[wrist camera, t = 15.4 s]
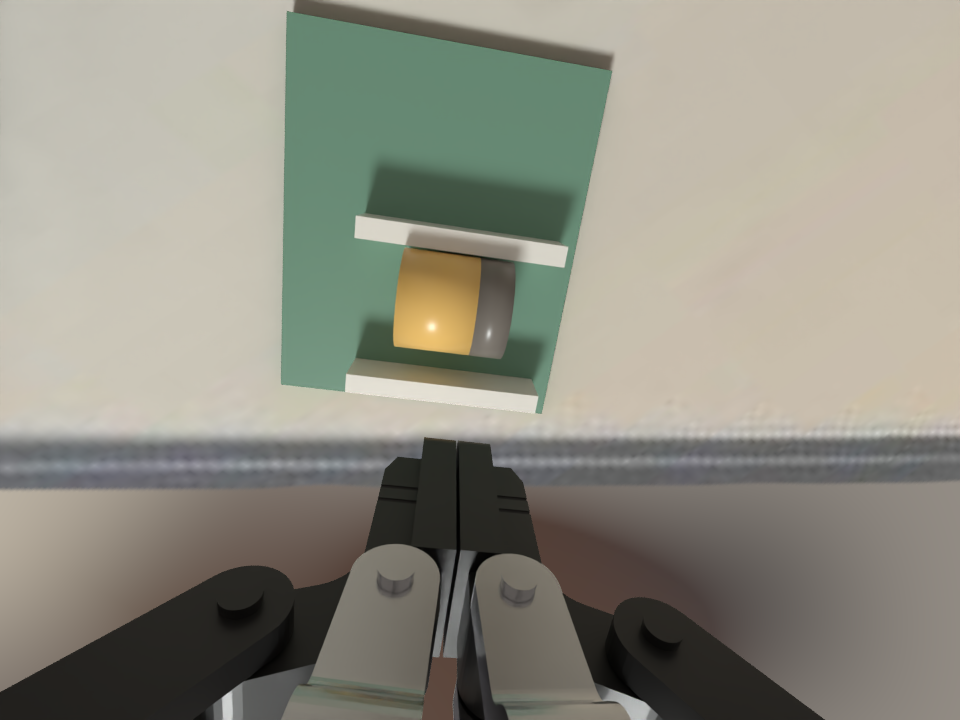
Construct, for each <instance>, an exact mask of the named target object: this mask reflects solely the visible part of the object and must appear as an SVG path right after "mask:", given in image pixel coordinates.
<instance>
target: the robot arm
mask: <svg viewBox="0 0 960 720" xmlns="http://www.w3.org/2000/svg"><path fill="white" fill-rule="evenodd" d="M443 630H444V637H443V640H444V641H443V657H450V658H451V657H452V658H457V681H456V687H455V693H454V698H453V715H454V720H824V719H823V718H822V717H820V716H819V715H818V714H816V713H815V712H814V711H812V710H811V709H810V708H808V707H807V706H806V705H804V704H803V703H801V702H800V701H799V700H798V699H796V698H795V697H794V696H792V695H791V694H789V693H788V692H787V691H786V690H784V689H783V688H782V687H780V686H779V685H778V684H776V683H775V682H773V681H772V680H771V679H770V678H768V677H767V676H766V675H764V674H763V673H762V672H760V671H759V670H758V669H756V668H755V667H754V666H752V665H751V664H750V663H748V662H747V661H745V660H744V659H743V658H741V657H740V656H739V655H737V654H736V653H735V652H733V651H732V650H731V649H729V648H728V647H727V646H725V645H724V644H723V643H721V642H720V641H719V640H717V639H716V638H715V637H713V636H712V635H711V634H709V633H708V632H707V631H705V630H704V629H702V628H701V627H700V626H699V625H697V624H696V623H695V622H693V621H692V620H691V619H689V618H688V617H687V616H685V615H684V614H683V613H681V612H680V611H678V610H677V609H675V608H673V607H671V606H670V605H668V604H665V603H663V602H661V601H658V600H654V599H650V598H642V597H641V598H640V597H637V598H630V599H627V600H625V601H623V602H622V603H620V605H618V607H617V608H616V610H615V612H614V615H612V614H609V613H606V612H603V611H600V610H598V609H594V608H592V607H589V606H586V605H584V604H581V603H579V602H576V601H574V600H573V599H571V598H569V597H567V596H566V595H565V594H563V593H562V591H561V588H560V585H559V583H558V581H557V579H556V578H555V576H554V575H553V574H552V573H551V572H550V570H549V569H547V568H546V567H545V566H544V565H543V564H542V563H541V559H540V555H539V551H538V546H537V542H536V537H535V533H534V529H533V524H532V520H531V515H530V514H529V507H528V502H527V501H526V494H525V489H524V485H523V482H522V481H521V480H520V478H519V477H518V476H517V475H516V474H515V473H514V471H513V470H512V469H511V468H503V467H494V466H493V462H492V454H491V447H490V444H483V443H474V442H464V441H458V443H457V448H456V441H454V440H444V439H435V438H426V437H424V444H423V453H422V459H414V458H404V457H397V458H396V459H395V460H394V461H393V462H392V463H391V464H390V465H389V466H388V467H387V468H386V469H385V472H384V476H383V480H382V484H381V488H380V492H379V497H378V501H377V505H376V509H375V513H374V517H373V521H372V525H371V529H370V533H369V537H368V541H367V545H366V549H365V553H364V554H363V555H361V556H360V557H359V558H358V559H357V561H356V562H355V563H354V565H353V567H352V569H351V571H350V572H349V573H347V574H346V575H344V576H342V577H340V578H338V579H336V580H334V581H331V582H329V583H325V584H321V585H316V586H310V587H305V588H299V589H294V588H293V585H292V583H291V581H290V580H289V579H288V578H287V576H286V575H284V574H283V573H281V572H280V571H278V570H276V569H273V568H269V567H265V566H244V567H238V568H234V569H230V570H227V571H224V572H222V573H220V574H218V575H215V576H213V577H212V578H210V579H208V580H206V581H204V582H202V583H201V584H199V585H197V586H195V587H194V588H191V589H189V590H188V591H186V592H184V593H182V594H180V595H179V596H177V597H175V598H173V599H171V600H169V601H167V602H166V603H164V604H162V605H160V606H158V607H156V608H155V609H153V610H151V611H149V612H147V613H146V614H143V615H142V616H140V617H138V618H136V619H134V620H133V621H131V622H129V623H127V624H125V625H123V626H121V627H120V628H118V629H116V630H114V631H112V632H110V633H108V634H107V635H105V636H103V637H101V638H100V639H97V640H95V641H94V642H92V643H90V644H88V645H86V646H84V647H83V648H81V649H79V650H77V651H75V652H73V653H71V654H70V655H68V656H66V657H64V658H62V659H60V660H59V661H57V662H55V663H53V664H51V665H49V666H48V667H46V668H44V669H42V670H40V671H38V672H36V673H35V674H33V675H31V676H29V677H27V678H25V679H24V680H22V681H20V682H18V683H16V684H14V685H12V686H11V687H9V688H7V689H5V690H3V691H1V692H0V720H421V719H422V711H423V702H424V695H425V693H426V690H427V687H428V682H429V676H430V669H431V663H432V657H439V654H440V648H441V642H442V636H443Z"/></svg>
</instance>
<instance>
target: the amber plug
mask: <svg viewBox="0 0 960 720" xmlns="http://www.w3.org/2000/svg"><path fill="white" fill-rule="evenodd" d="M515 280H516V274H515V265H514V263H513V262H507V261H500V260H493V259H486V258H479V257H471V256H464V255H457V254H450V253H443V252H436V251H428V250H421V249H414V248H407V247H405V249H404V251H403V255H402V260H401V265H400V271H399V277H398V285H397V293H396V302H395V313H394V328H393V342H394V346H395V347H403V348H412V349H420V350H428V351H436V352H445V353H453V354H461V355H470V356H478V357H486V358H495V359H501V358H502V356H503V354H504V352H505V349H506V345H507V341H508V337H509V332H510V327H511V321H512V314H513V306H514V297H515Z"/></svg>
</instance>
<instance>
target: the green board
mask: <svg viewBox="0 0 960 720" xmlns="http://www.w3.org/2000/svg"><path fill="white" fill-rule="evenodd" d="M611 74H612V71H610V70H604V69H599V68H594V67H588V66H583V65H577V64H572V63H566V62H561V61H555V60H550V59H545V58H539V57H534V56H528V55H523V54H517V53H512V52H506V51H501V50H496V49H490V48H485V47H479V46H474V45H468V44H463V43H457V42H452V41H447V40H441V39H436V38H430V37H425V36H419V35H414V34H408V33H403V32H398V31H392V30H387V29H381V28H376V27H370V26H365V25H359V24H354V23H349V22H343V21H338V20H332V19H327V18H321V17H316V16H310V15H305V14H300V13H294V12H289V11H287V28H286V94H285V159H284V224H283V290H282V355H281V384H282V385H291V386H300V387H309V388H317V389H326V390H335V391H344V392H345V383H346V373H347V372H348V370H349V368H350V366H351V365H352V363H353V361H354V360H355V358H360V359H368V360H377V361H385V362H393V363H402V364H410V365H418V366H427V367H435V368H444V369H452V370H460V371H469V372H477V373H486V374H494V375H502V376H511V377H519V378H527V379H532V382H533V384H534V387H535V389H536V392H537V394H538V401H537V406H536V411H535V413H539V414H542V409H543V404H544V399H545V395H546V390H547V385H548V380H549V375H550V370H551V365H552V361H553V356H554V351H555V346H556V341H557V336H558V331H559V327H560V322H561V317H562V312H563V307H564V302H565V297H566V293H567V288H568V283H569V278H570V273H571V268H572V263H573V259H574V254H575V249H576V244H577V239H578V234H579V229H580V225H581V220H582V215H583V210H584V205H585V200H586V195H587V190H588V186H589V181H590V176H591V171H592V166H593V161H594V156H595V152H596V147H597V142H598V137H599V132H600V127H601V122H602V118H603V113H604V108H605V103H606V98H607V93H608V88H609V84H610V79H611ZM364 213H368V214H375V215H381V216H388V217H395V218H402V219H408V220H415V221H422V222H429V223H436V224H442V225H449V226H456V227H463V228H469V229H476V230H483V231H490V232H497V233H503V234H510V235H517V236H524V237H530V238H537V239H544V240H551V241H558V242H560V243H562V244H564V245H566V246H568V252H567V257H566V262H565V267H564V268H562V267H555V266H548V265H541V264H534V263H527V262H520V261H513V260H506V259H499V258H492V257H485V256H478V255H471V254H464V253H457V252H450V251H443V250H436V249H429V248H422V247H415V246H408V245H401V244H394V243H387V242H380V241H373V240H366V239H359V238H354V236H355V220H356V215H360V214H364ZM405 247H407V248H414V249H421V250H428V251H436V252H443V253H450V254H457V255H464V256H471V257H479V258H486V259H493V260H500V261H507V262H513V263H514V265H515V274H516V280H515V297H514V306H513V314H512V321H511V327H510V332H509V337H508V341H507V345H506V349H505V352H504V354H503V356H502V358H501V359H495V358H486V357H478V356H470V355H461V354H453V353H445V352H436V351H428V350H420V349H412V348H403V347H395V346H394V342H393V328H394V313H395V302H396V293H397V285H398V277H399V271H400V265H401V260H402V255H403V251H404V249H405Z"/></svg>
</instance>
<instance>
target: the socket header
mask: <svg viewBox="0 0 960 720" xmlns="http://www.w3.org/2000/svg"><path fill="white" fill-rule="evenodd" d="M354 238H359V239H366V240H373V241H380V242H387V243H394V244H401V245H408V246H415V247H422V248H429V249H436V250H443V251H450V252H457V253H464V254H471V255H478V256H485V257H492V258H499V259H506V260H513V261H520V262H527V263H534V264H541V265H548V266H555V267H562V268H564V267H565V262H566V257H567V252H568V246H566V245H564V244H562V243H560V242H558V241H551V240H544V239H537V238H530V237H524V236H517V235H510V234H503V233H497V232H490V231H483V230H476V229H469V228H463V227H456V226H449V225H442V224H436V223H429V222H422V221H415V220H408V219H402V218H395V217H388V216H381V215H375V214H368V213H364V214H360V215H356V220H355V236H354ZM345 392H349V393H358V394H367V395H375V396H384V397H393V398H402V399H411V400H420V401H429V402H438V403H446V404H455V405H464V406H473V407H482V408H491V409H500V410H509V411H518V412H526V413H535V411H536V406H537V401H538V394H537V392H536V389H535V387H534V384H533V382H532V379H527V378H519V377H511V376H502V375H494V374H486V373H477V372H469V371H460V370H452V369H444V368H435V367H427V366H418V365H410V364H402V363H393V362H385V361H377V360H368V359H360V358H355V360H354V361H353V363H352V365H351V366H350V368H349V370H348V372H347V373H346V383H345Z"/></svg>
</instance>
